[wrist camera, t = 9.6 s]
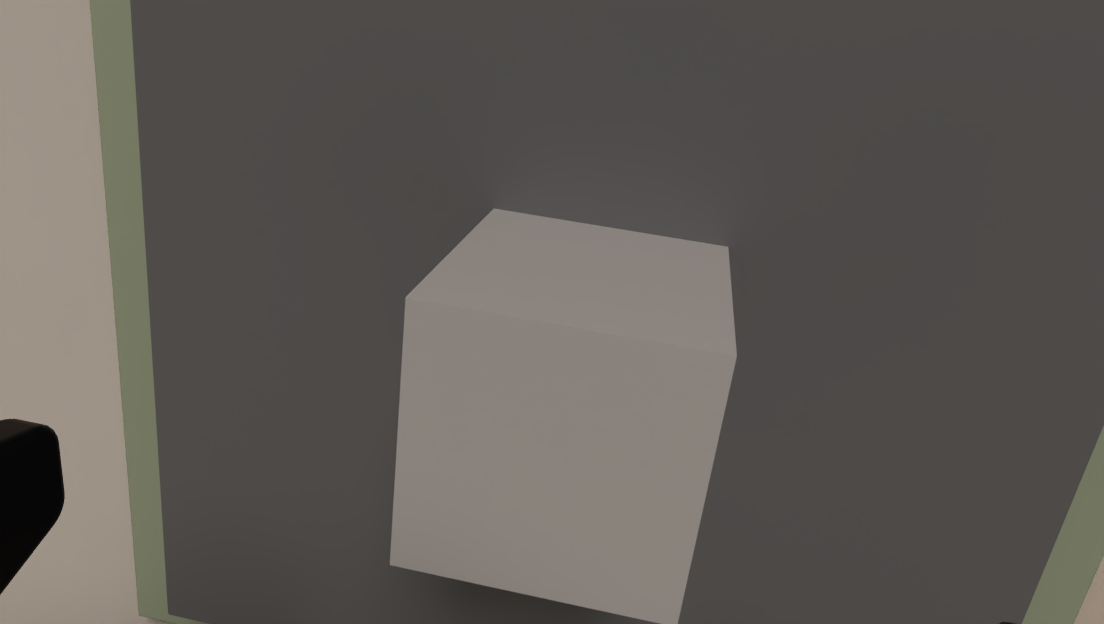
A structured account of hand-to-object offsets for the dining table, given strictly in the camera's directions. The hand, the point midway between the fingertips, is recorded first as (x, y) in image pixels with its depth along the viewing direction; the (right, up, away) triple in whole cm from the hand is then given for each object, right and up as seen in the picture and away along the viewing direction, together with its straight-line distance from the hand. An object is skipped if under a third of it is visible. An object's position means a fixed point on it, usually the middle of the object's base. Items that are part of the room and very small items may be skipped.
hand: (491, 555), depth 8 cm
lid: (+1, +2, +6) cm, 7 cm away
